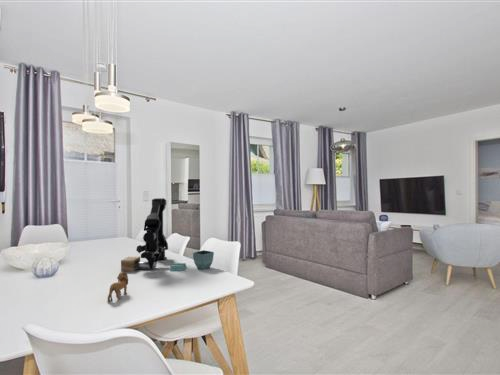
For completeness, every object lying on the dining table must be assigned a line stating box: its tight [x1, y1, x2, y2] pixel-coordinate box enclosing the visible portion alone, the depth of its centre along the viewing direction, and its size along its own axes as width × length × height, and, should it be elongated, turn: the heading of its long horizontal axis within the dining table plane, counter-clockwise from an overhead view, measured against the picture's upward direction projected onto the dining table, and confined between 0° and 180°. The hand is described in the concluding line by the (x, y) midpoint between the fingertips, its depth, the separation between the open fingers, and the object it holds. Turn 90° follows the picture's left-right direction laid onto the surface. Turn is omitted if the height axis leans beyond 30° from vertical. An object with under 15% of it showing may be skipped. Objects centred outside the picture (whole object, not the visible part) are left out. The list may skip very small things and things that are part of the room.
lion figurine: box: [107, 271, 129, 303], centre depth 121 cm, size 15×5×9 cm, turn 6°
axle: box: [135, 261, 157, 270], centre depth 164 cm, size 4×14×4 cm, turn 87°
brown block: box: [120, 256, 141, 272], centre depth 165 cm, size 9×7×6 cm
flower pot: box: [192, 249, 215, 270], centre depth 165 cm, size 9×9×9 cm
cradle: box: [169, 262, 187, 272], centre depth 163 cm, size 8×7×2 cm
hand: (152, 267), depth 164 cm, fingers closed on axle, 4 cm apart
